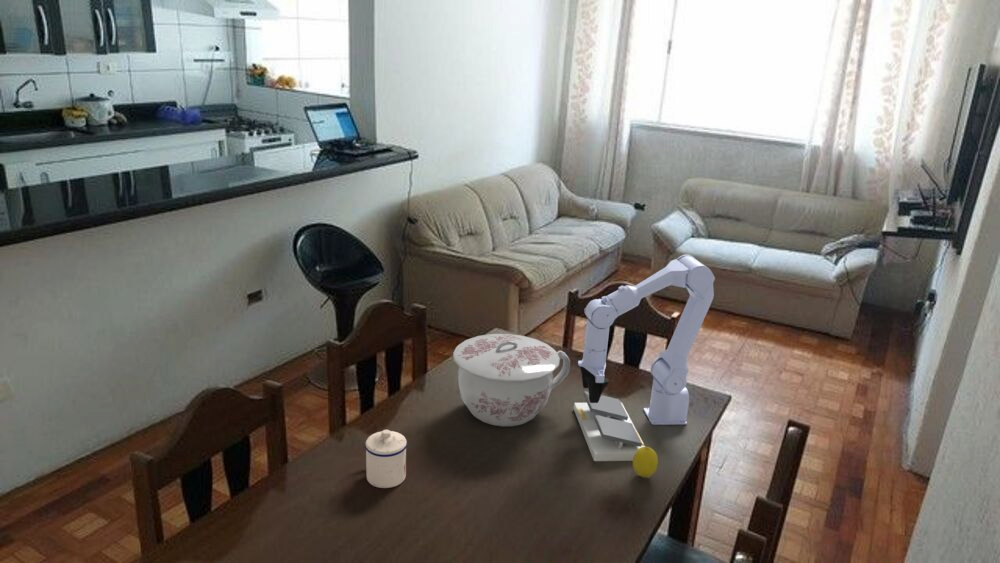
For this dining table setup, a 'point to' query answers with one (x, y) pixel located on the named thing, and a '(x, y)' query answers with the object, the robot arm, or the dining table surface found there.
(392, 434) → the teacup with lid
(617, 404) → the rocker
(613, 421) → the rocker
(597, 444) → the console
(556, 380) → the chamber pot
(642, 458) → the lemon
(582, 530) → the dining table surface
